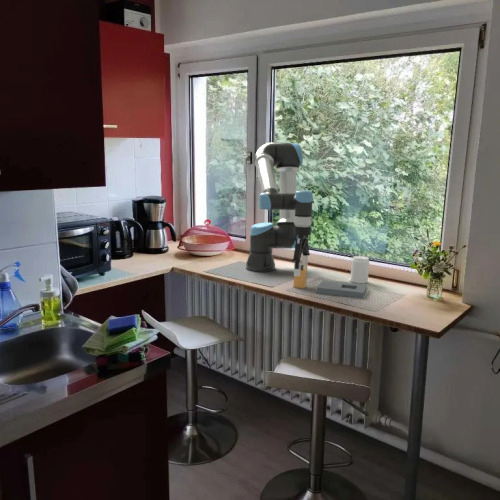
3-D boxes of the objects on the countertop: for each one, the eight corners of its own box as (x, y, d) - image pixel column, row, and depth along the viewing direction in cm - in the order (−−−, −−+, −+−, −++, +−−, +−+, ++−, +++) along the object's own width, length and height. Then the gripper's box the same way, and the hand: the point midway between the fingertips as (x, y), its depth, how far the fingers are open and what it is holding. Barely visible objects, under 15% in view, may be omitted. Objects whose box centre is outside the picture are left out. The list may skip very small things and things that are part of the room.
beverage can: (355, 284, 231) (356, 259, 229) (347, 280, 239) (348, 255, 237) (370, 284, 234) (372, 259, 231) (362, 279, 241) (364, 255, 239)
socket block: (316, 292, 217) (316, 287, 217) (322, 284, 230) (322, 279, 229) (362, 298, 211) (363, 292, 210) (366, 289, 224) (367, 284, 223)
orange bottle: (293, 287, 225) (294, 265, 223) (295, 284, 229) (296, 263, 227) (304, 288, 224) (305, 266, 222) (306, 286, 227) (307, 264, 225)
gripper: (304, 230, 208) (302, 279, 212) (316, 223, 231) (314, 267, 235) (287, 228, 210) (285, 277, 214) (301, 221, 233) (299, 266, 237)
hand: (300, 272), depth 225 cm, fingers open, 13 cm apart
